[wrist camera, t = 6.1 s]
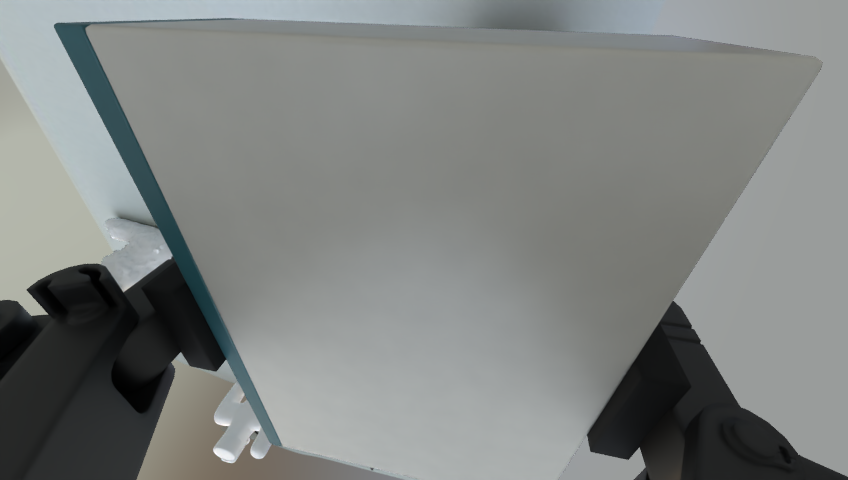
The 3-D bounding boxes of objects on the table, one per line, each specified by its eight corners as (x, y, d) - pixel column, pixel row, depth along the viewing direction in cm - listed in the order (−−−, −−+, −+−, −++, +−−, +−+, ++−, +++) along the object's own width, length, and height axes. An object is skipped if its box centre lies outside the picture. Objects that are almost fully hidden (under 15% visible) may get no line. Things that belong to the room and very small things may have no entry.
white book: (228, 17, 7) (49, 22, 4) (676, 35, 6) (833, 57, 3) (316, 357, 14) (269, 443, 11) (532, 400, 13) (540, 510, 10)
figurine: (254, 332, 50) (174, 435, 38) (310, 336, 48) (244, 448, 35) (272, 362, 54) (204, 465, 42) (324, 368, 52) (270, 477, 39)
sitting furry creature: (112, 215, 41) (-8, 278, 31) (162, 206, 39) (48, 271, 29) (162, 274, 46) (72, 344, 36) (209, 269, 43) (125, 343, 34)
